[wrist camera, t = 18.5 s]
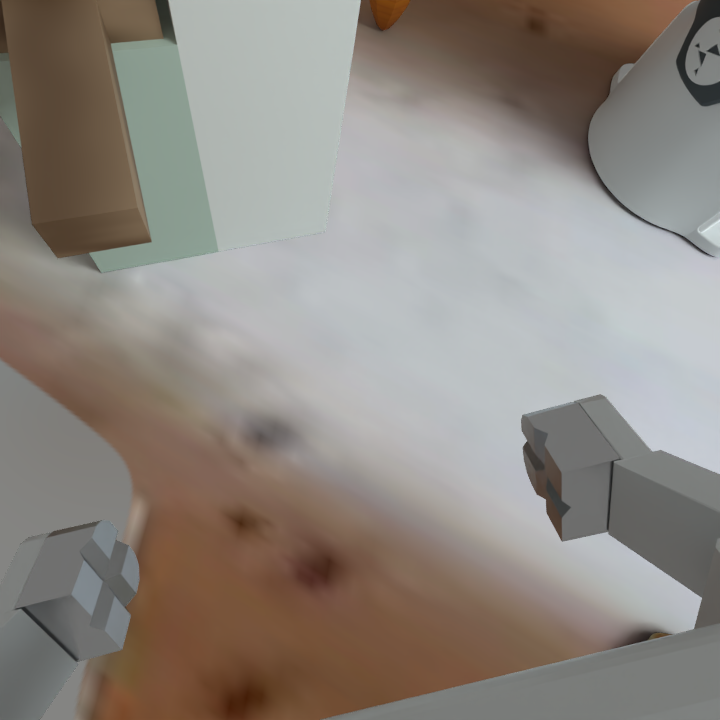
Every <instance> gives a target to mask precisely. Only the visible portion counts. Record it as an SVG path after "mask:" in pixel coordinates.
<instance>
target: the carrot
mask: <svg viewBox="0 0 720 720" xmlns="http://www.w3.org/2000/svg"><path fill="white" fill-rule="evenodd" d="M409 2H410V0H370V5H371V9H372V12H373V15H374V18H375V21H376V24H377V25H378V27H379V28H380V29H381V30H386V29H389V28H390V27H391V26H392V25H393V24H394V23H395V22H396V21H397V20H398V19H399V18H400V16H401V15H402V13H403V12H404V10H405V9H406V8H407V6H408V4H409Z"/></svg>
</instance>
